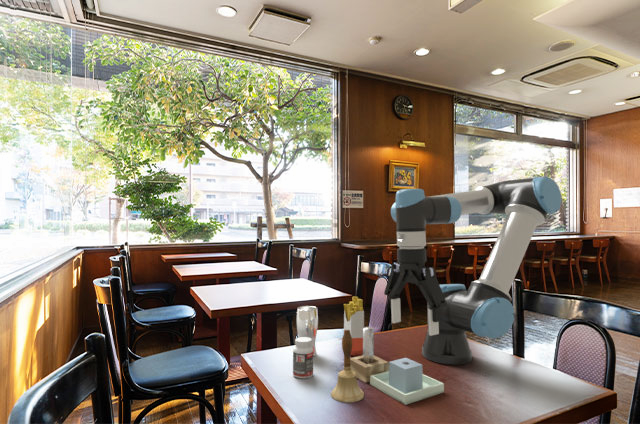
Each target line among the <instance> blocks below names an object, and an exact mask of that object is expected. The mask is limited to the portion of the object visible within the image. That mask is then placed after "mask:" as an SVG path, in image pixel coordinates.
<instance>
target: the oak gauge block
mask: <svg viewBox="0 0 640 424" xmlns="http://www.w3.org/2000/svg"><path fill="white" fill-rule="evenodd" d="M350 364H351V366H350V367H351V370H352V371H354V372H355V373H356V377H357V379H359V380H360V381H362V382H364V384H365V383H370V376H372V375H376V374H380V373H384V372H388V371H389V361H386V360H384V359H382V358H381V357H378V356H377V355H374V363H371V364H365V363H363V354H362V355H357V356H353V357H350Z"/></svg>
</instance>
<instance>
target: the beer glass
mask: <svg viewBox="0 0 640 424" xmlns="http://www.w3.org/2000/svg"><path fill="white" fill-rule="evenodd" d="M296 311H297V312H296V330H297V331H296V332H297V336H298V337H297V338H299V337H309V338H311V339H312V344H311V347H312V348H313V358H314V357H316V356H317V348H316V340H317V339H316V338H317V333H318V327H319V316H318V314H319V313H318V312H319V311H318V307H316V306H313V305H302V306H298V307H297V310H296Z"/></svg>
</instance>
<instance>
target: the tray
mask: <svg viewBox="0 0 640 424" xmlns="http://www.w3.org/2000/svg"><path fill="white" fill-rule="evenodd" d="M369 385H370V386H372V387H374V388H376V389H377V390H379V391H381V392H382V393H384V394H385V395H387V396H389V397H391V398H393V399H395V400H396V401H398V402H400V403H401V404H403V405H404V406H406V405H409V404H412V403H416V402H419V401H422V400H425V399H428V398H431V397H435V396H437V395H440V394H443V393H445V384H444V383H443V382H442V381H440V380H437V379H435V378H432V377H431V376H428V375H426V374H424V373H423V389H419V390H416V391H413V392H410V393H407V394H405V393H403V392H401V391H399V390H397V389H396V388H394V387H392V386H390V385H389V371H388V372H384V373H380V374H376V375H372V376H370V382H369Z"/></svg>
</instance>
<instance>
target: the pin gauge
mask: <svg viewBox="0 0 640 424" xmlns="http://www.w3.org/2000/svg"><path fill="white" fill-rule="evenodd" d="M374 329H375V328H374V327H372V326H364V327H363V353H362V355H363V363H365V364H371V363H374V356H375V353H374V352H375V351H374V350H375V349H374V348H375V346H374V344H375V341H374V338H375V334H374V333H375V331H374Z"/></svg>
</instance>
